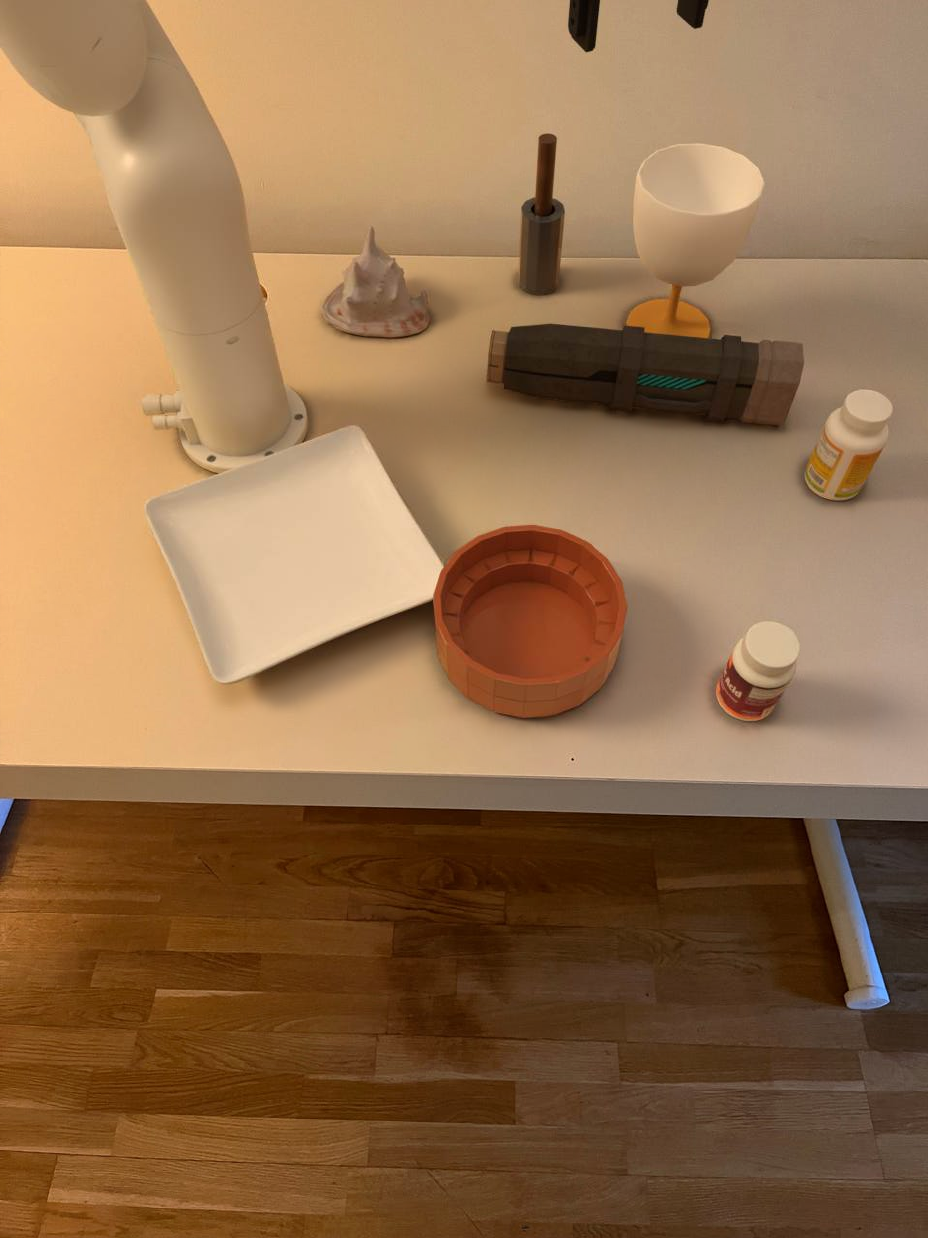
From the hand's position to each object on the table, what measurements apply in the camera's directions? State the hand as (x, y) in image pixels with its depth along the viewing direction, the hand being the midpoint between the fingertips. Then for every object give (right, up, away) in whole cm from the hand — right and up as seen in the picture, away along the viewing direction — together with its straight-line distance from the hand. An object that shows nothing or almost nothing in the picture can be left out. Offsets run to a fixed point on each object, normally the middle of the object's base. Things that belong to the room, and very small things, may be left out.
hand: (636, 32), depth 73 cm
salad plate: (-29, -43, +7) cm, 52 cm away
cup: (+8, -16, +25) cm, 31 cm away
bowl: (-9, -49, +3) cm, 50 cm away
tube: (+3, -26, +19) cm, 32 cm away
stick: (-6, -9, +28) cm, 30 cm away
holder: (-6, -9, +29) cm, 31 cm away
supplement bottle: (+21, -35, +13) cm, 42 cm away
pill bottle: (+9, -54, 0) cm, 55 cm away
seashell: (-23, -13, +27) cm, 38 cm away
